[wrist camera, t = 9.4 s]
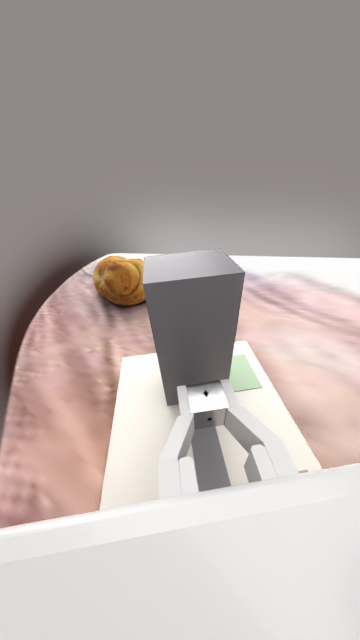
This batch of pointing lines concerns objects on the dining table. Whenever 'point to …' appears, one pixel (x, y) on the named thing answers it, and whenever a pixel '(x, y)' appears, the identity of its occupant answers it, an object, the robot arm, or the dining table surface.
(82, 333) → the dining table surface
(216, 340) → the switch tab
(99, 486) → the dining table surface
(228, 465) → the switch panel
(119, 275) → the bread roll
